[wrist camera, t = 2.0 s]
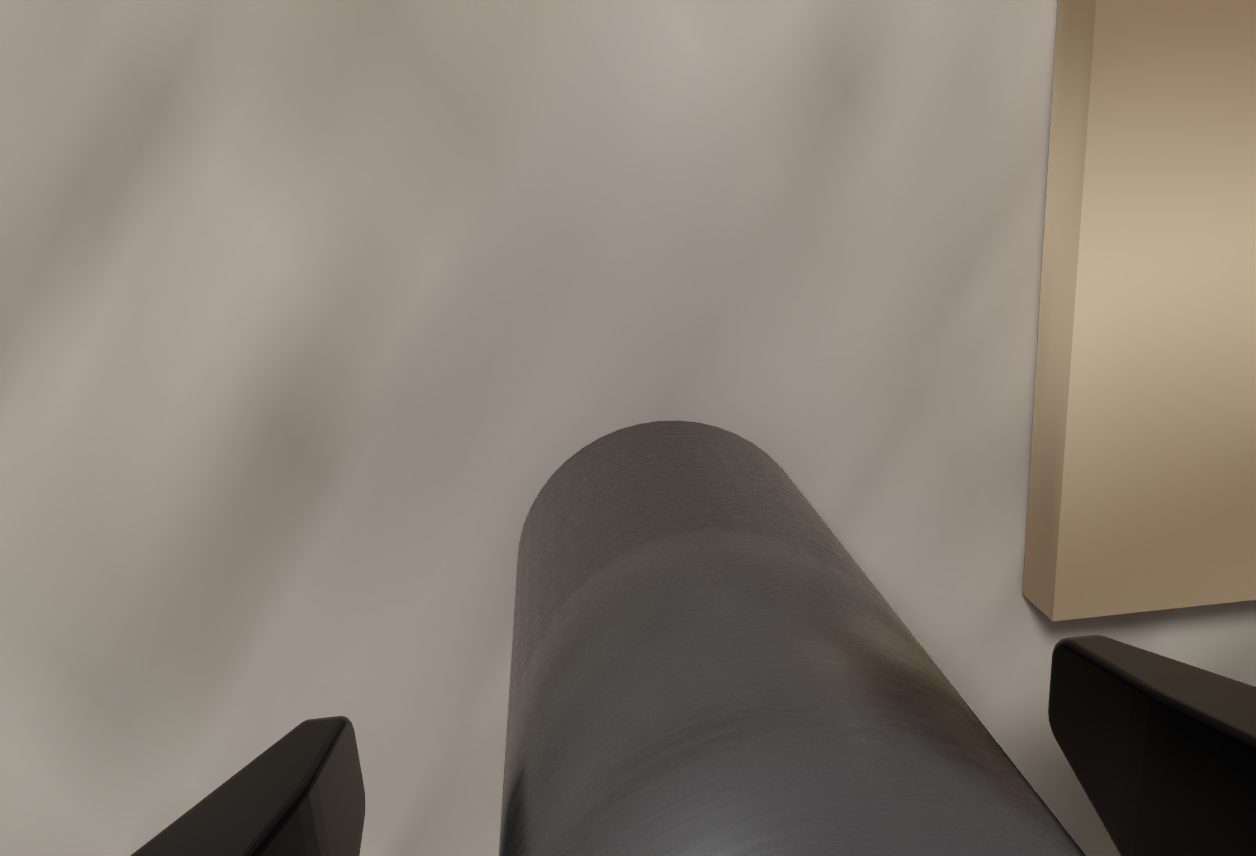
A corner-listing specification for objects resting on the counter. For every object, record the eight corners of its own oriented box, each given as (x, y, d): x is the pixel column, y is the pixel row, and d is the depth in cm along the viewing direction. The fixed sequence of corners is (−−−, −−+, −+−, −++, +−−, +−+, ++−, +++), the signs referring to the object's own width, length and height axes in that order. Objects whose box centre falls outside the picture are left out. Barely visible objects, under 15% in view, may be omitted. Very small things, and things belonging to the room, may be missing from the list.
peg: (814, 679, 13) (1340, 1679, 4) (532, 709, 13) (511, 1836, 4) (811, 408, 12) (1509, 1040, 3) (502, 435, 12) (386, 1203, 3)
